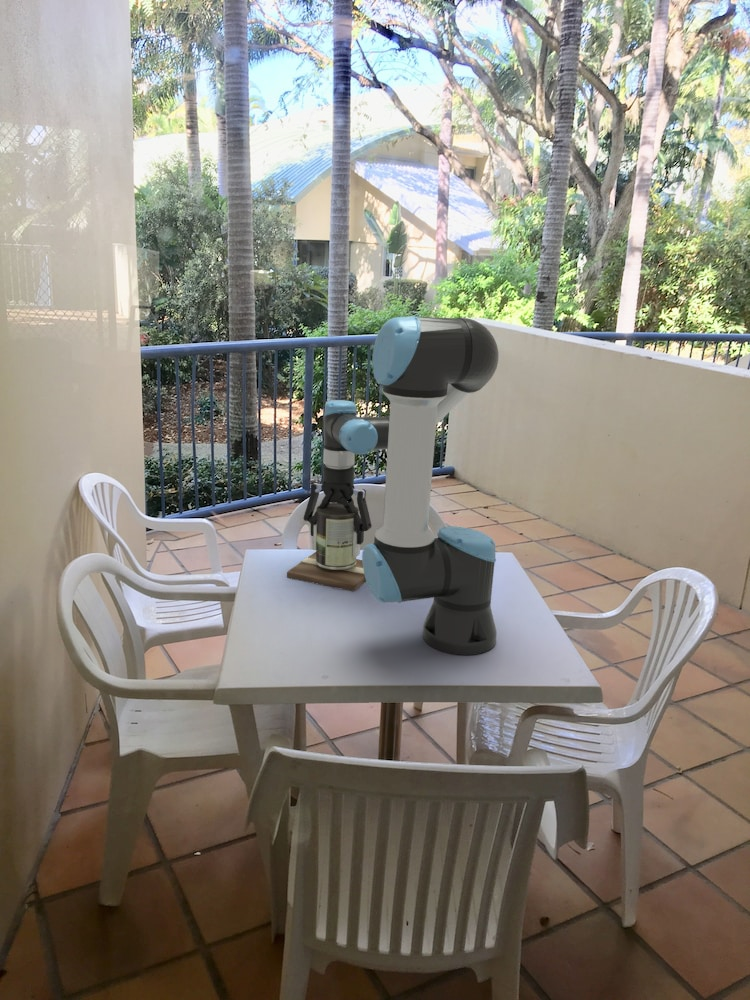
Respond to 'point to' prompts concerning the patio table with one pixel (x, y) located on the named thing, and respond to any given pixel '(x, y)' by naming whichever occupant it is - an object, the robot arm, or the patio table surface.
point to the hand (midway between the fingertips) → (336, 552)
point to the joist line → (352, 569)
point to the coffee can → (335, 537)
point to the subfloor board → (328, 575)
